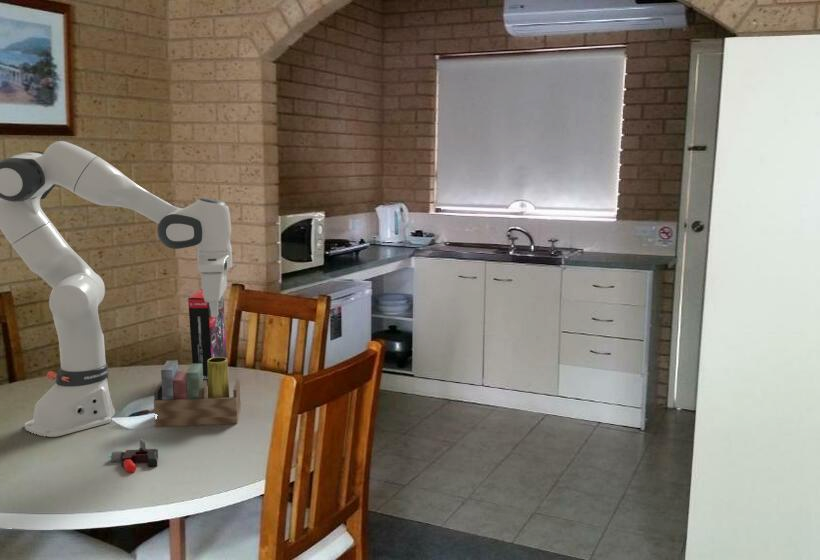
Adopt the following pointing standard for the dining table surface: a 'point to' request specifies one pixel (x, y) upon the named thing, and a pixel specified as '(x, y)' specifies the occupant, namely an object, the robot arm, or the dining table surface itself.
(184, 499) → the dining table surface
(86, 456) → the dining table surface
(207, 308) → the graphics card box
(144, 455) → the toy gun
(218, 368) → the vase
